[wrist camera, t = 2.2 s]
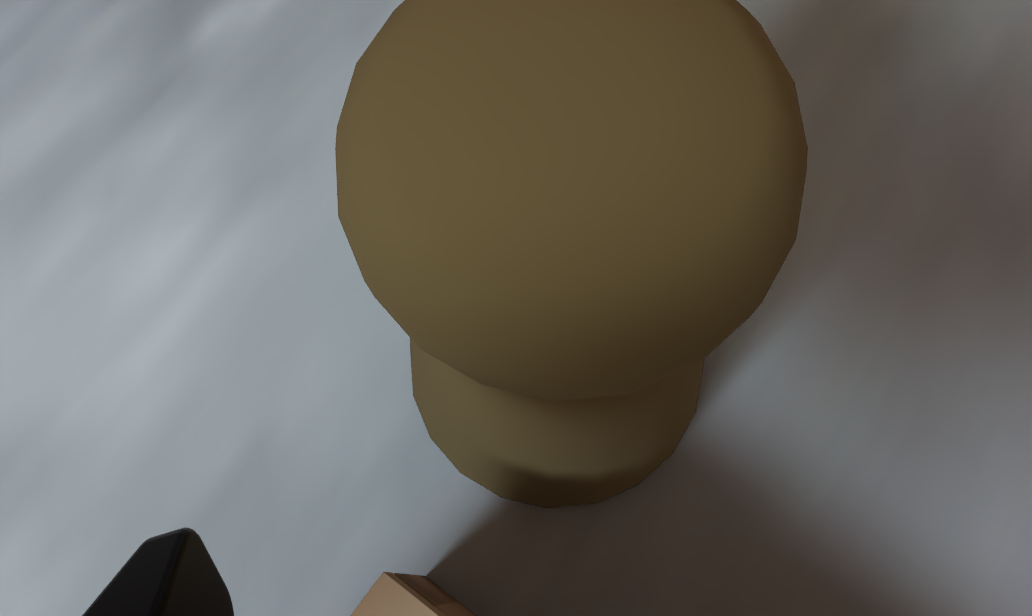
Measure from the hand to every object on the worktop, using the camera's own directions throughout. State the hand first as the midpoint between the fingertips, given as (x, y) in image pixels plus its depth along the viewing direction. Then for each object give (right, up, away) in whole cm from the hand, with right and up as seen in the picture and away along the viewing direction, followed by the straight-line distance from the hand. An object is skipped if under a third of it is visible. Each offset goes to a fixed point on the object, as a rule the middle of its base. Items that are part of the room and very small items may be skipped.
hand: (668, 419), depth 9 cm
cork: (-1, 0, +11) cm, 11 cm away
